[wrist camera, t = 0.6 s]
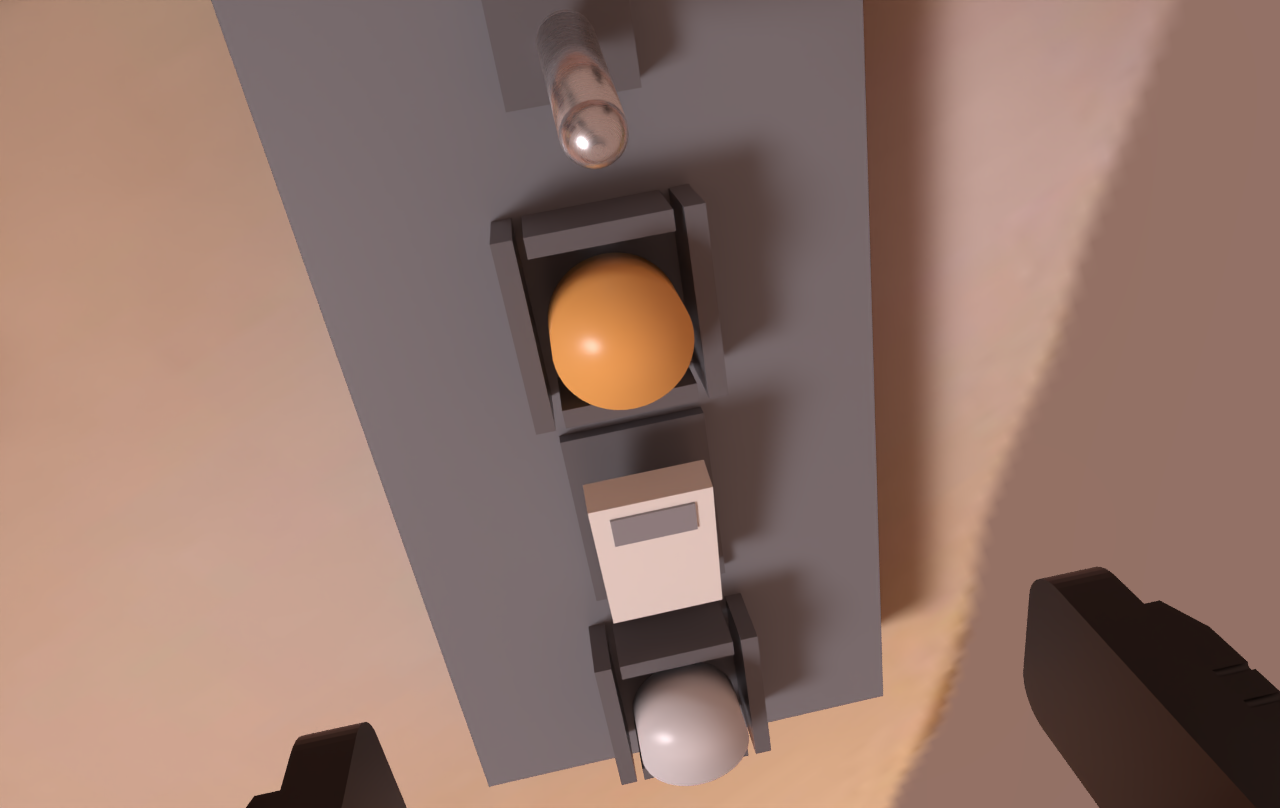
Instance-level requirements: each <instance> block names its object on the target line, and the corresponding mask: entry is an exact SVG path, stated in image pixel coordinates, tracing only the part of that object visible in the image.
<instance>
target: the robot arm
mask: <svg viewBox="0 0 1280 808" xmlns="http://www.w3.org/2000/svg"><path fill="white" fill-rule="evenodd" d="M1023 677H1024V684H1025V689H1026V693H1027V697H1028V700H1029V703H1030V705H1031V708H1032V710H1033V712H1034V714H1035V716H1036V718H1037V720H1038V722H1039V724H1040V725H1041V727H1042V728H1043V730H1044V731H1045V732H1046V734H1047V735H1048V737H1049V738H1050V739H1051V741H1052V742H1053V744H1054V745H1055V746H1056V748H1057V749H1058V751H1059V752H1060V753H1061V755H1062V756H1063V758H1064V759H1065V760H1066V762H1067V763H1068V765H1069V766H1070V767H1071V768H1072V770H1073V771H1074V773H1075V774H1076V776H1077V777H1078V778H1079V780H1080V781H1081V783H1082V784H1083V785H1084V787H1085V788H1086V790H1087V791H1088V792H1089V794H1090V795H1091V797H1092V798H1093V799H1094V801H1095V802H1096V803H1097V805H1098V806H1099V808H1280V691H1279V690H1278V689H1277V688H1275V687H1274V686H1273V685H1272V684H1271V683H1270V682H1269V681H1268V680H1267V679H1266V678H1265V677H1264V676H1263V675H1261V674H1260V673H1259V672H1258V671H1257V670H1256V669H1254V670H1251V669H1250V668H1249V666H1248V662H1247V661H1246V660H1245V659H1244V658H1243V657H1242V656H1240V655H1239V654H1238V653H1237V652H1236V651H1235V650H1234V649H1233V648H1232V647H1231V646H1230V645H1228V643H1226V642H1225V641H1224V640H1223V639H1222V638H1221V637H1220V636H1219V635H1218V634H1217V633H1215V632H1214V631H1213V630H1212V629H1211V628H1210V627H1209V626H1207V625H1205V624H1203V623H1201V622H1199V621H1197V620H1195V619H1193V618H1192V617H1190V616H1188V615H1186V614H1184V613H1182V612H1180V611H1178V610H1177V609H1175V608H1173V607H1171V606H1169V605H1167V604H1165V603H1163V602H1162V601H1156V602H1151V603H1146V604H1144V603H1142V601H1141V600H1139V598H1137V597H1136V596H1135V595H1134V594H1133V593H1132V592H1131V591H1130V590H1129V589H1128V588H1127V587H1126V586H1125V585H1124V584H1123V583H1122V582H1121V581H1120V580H1119V579H1118V578H1117V577H1116V576H1115V575H1114V574H1112V573H1111V572H1110V571H1108V570H1106V569H1105V568H1102V567H1093V568H1089V569H1084V570H1079V571H1075V572H1070V573H1066V574H1061V575H1056V576H1052V577H1047V578H1042V579H1039V580H1036V581H1035V582H1034V583H1033V584H1032V586H1031V589H1030V594H1029V606H1028V619H1027V631H1026V645H1025V657H1024V670H1023ZM246 808H406V805H405V803H404V800H403V798H402V795H401V793H400V791H399V788H398V786H397V783H396V781H395V778H394V776H393V774H392V771H391V769H390V766H389V764H388V762H387V759H386V757H385V754H384V752H383V749H382V747H381V745H380V742H379V740H378V737H377V735H376V733H375V731H374V729H373V727H372V726H371V725H370V724H369V723H367V722H363V723H359V724H354V725H350V726H345V727H340V728H336V729H331V730H326V731H322V732H317V733H312V734H308V735H303V736H301V737H299V738H298V739H297V740H296V742H295V744H294V746H293V748H292V751H291V754H290V758H289V761H288V765H287V769H286V772H285V776H284V779H283V783H282V786H281V790H280V791H275V792H271V793H266V794H262V795H257V796H254V797H253V799H252V800H251V801H250V803H249V804H248V806H247V807H246Z"/></svg>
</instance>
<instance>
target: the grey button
mask: <svg viewBox="0 0 1280 808" xmlns="http://www.w3.org/2000/svg"><path fill="white" fill-rule="evenodd" d="M633 711H634V717H635V722H636V728H637V733H638V739H639V745H640V750H641V756H642V761H643V764H644V766H645V768H646V769H647V771H648V772H649V773H650V774H651V775H652V776H653V777H655V778H656V779H658V780H660V781H662V782H665V783H668V784H672V785H678V786H692V785H699V784H704V783H707V782H710V781H713V780H716V779H718V778H720V777H722V776H723V775H725V774H727V773H728V772H729V771H731V770H732V769H733V768H734V767H735V766H736V765H737V764H738V763H739V762H740V761H741V760H742V758H743V757H744V755H745V753H746V751H747V748H748V743H749V735H748V730H747V727H746V724H745V721H744V718H743V715H742V712H741V709H740V706H739V703H738V700H737V697H736V694H735V691H734V688H733V685H732V682H731V680H730V679H729V677H728V676H727V675H726V674H725V673H724V672H723V671H721V670H720V669H718V668H717V667H715V666H712V665H709V664H705V663H700V662H699V663H695V664H690V665H686V666H681V667H677V668H672V669H668V670H663V671H659V672H656V673H654V674H653V675H651V676H650V677H649V678H648V679H647V680H646V681H645V682H644V683H643V684H642V685H641V686H640V688H639V689H638V691H637V693H636V695H635V698H634V702H633Z"/></svg>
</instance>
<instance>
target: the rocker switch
mask: <svg viewBox="0 0 1280 808" xmlns="http://www.w3.org/2000/svg"><path fill="white" fill-rule="evenodd" d="M583 490H584V495H585V501H586V507H587V512H588V517H589V521H590V525H591V530H592V534H593V538H594V542H595V547H596V551H597V555H598V559H599V564H600V568H601V572H602V576H603V580H604V585H605V589H606V593H607V597H608V602H609V606H610V610H611V614H612V619H613V623H619V622H623V621H628V620H632V619H637V618H641V617H646V616H650V615H655V614H659V613H664V612H668V611H673V610H677V609H682V608H686V607H691V606H695V605H700V604H704V603H709V602H713V601H718V600H722V589H721V577H720V565H719V554H718V542H717V530H716V518H715V506H714V494H713V486H712V483H711V480H710V477H709V474H708V471H707V468H706V465H705V462H704V460H699V461H694V462H690V463H685V464H680V465H675V466H671V467H666V468H661V469H656V470H652V471H647V472H642V473H638V474H633V475H628V476H623V477H619V478H614V479H609V480H604V481H600V482H595V483H590V484H586V485H583Z"/></svg>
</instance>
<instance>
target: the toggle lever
mask: <svg viewBox="0 0 1280 808" xmlns="http://www.w3.org/2000/svg"><path fill="white" fill-rule="evenodd" d="M536 46H537V51H538V55H539V59H540V63H541V67H542V71H543V75H544V80H545V84H546V88H547V92H548V96H549V100H550V104H551V108H552V112H553V116H554V121H555V125H556V129H557V133H558V137H559V141H560V144H561V147H562V149H563V151H564V153H565V154H566V155H567V157H568V158H569V159H570V160H571V161H573V162H574V163H575V164H577V165H579V166H581V167H584V168H587V169H601V168H605V167H607V166H610V165H611V164H613V163H614V162H616V161H617V160H618V159H619V158H620V157H621V155H622V154H623V152H624V151H625V148H626V146H627V142H628V137H629V129H628V123H627V120H626V117H625V114H624V112H623V109H622V106H621V103H620V100H619V98H618V95H617V92H616V89H615V87H614V84H613V81H612V78H611V76H610V73H609V70H608V67H607V64H606V62H605V59H604V56H603V53H602V51H601V48H600V45H599V42H598V40H597V37H596V34H595V31H594V29H593V27H592V25H591V24H590V22H589V21H588V20H587V19H586V18H585V17H584V16H583V15H581V14H580V13H578V12H576V11H573V10H567V9H564V10H558V11H555V12H553V13H551V14H549V15H548V16H547V17H546V18H545V19H544V20H543V21H542V23H541V25H540V27H539V29H538V32H537V37H536Z"/></svg>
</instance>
